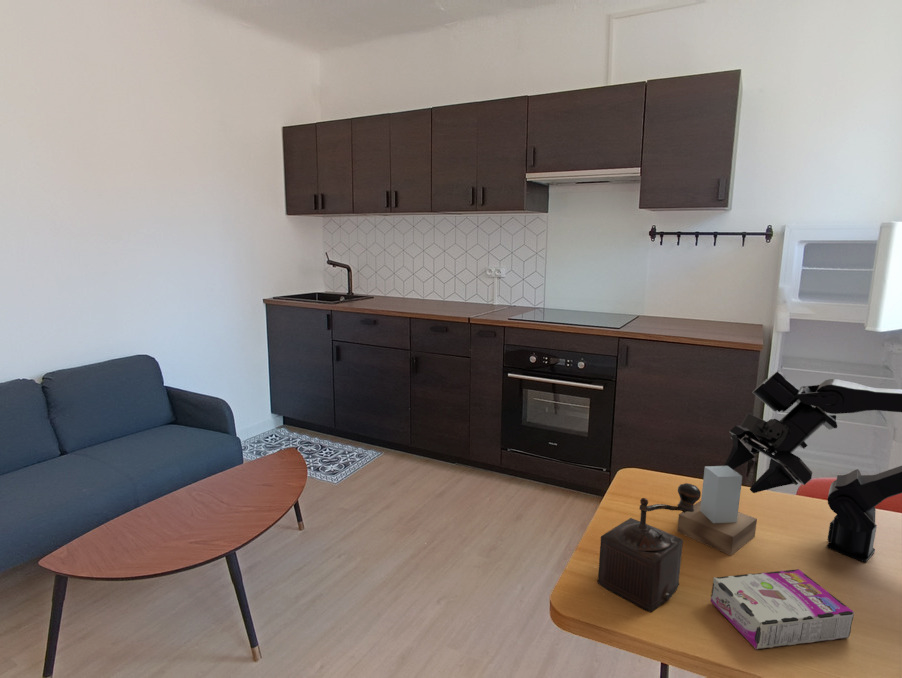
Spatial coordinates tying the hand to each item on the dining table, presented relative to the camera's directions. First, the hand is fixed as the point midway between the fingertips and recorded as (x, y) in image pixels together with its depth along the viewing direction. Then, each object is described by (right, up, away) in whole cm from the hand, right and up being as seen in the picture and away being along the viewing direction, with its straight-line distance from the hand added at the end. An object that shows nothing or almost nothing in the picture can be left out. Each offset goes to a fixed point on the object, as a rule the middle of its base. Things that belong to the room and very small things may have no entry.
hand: (737, 480), depth 110 cm
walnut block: (-3, -12, +2) cm, 12 cm away
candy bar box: (+2, -14, -22) cm, 26 cm away
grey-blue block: (-3, -8, +1) cm, 9 cm away
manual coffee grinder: (-23, -15, -13) cm, 31 cm away
